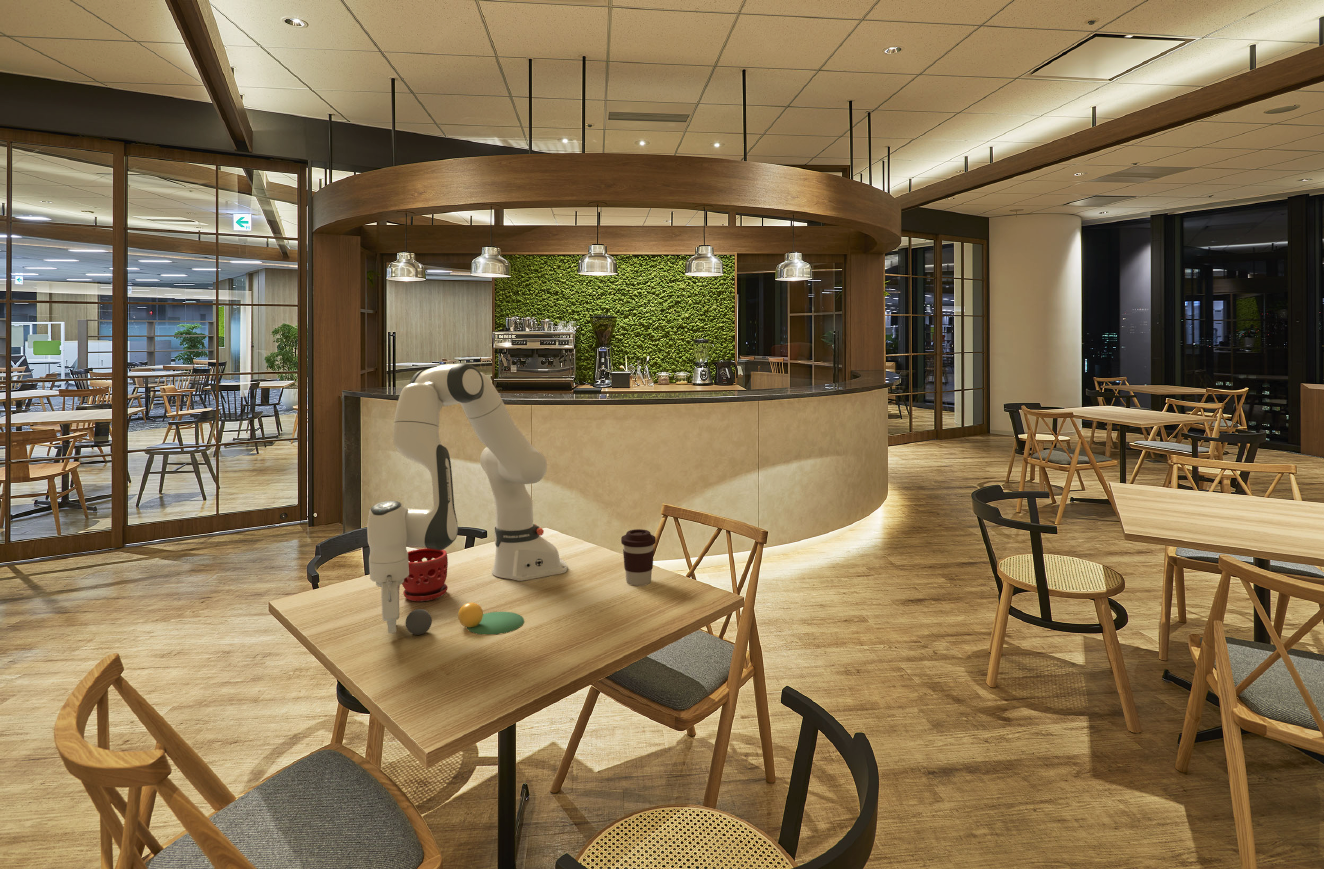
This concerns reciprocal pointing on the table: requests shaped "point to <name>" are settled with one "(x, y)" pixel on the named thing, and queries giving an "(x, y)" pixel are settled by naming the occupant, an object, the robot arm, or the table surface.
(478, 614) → the orange ball
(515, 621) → the green mark
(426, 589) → the plant pot
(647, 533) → the coffee cup
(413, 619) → the dark grey sphere
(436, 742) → the table surface
